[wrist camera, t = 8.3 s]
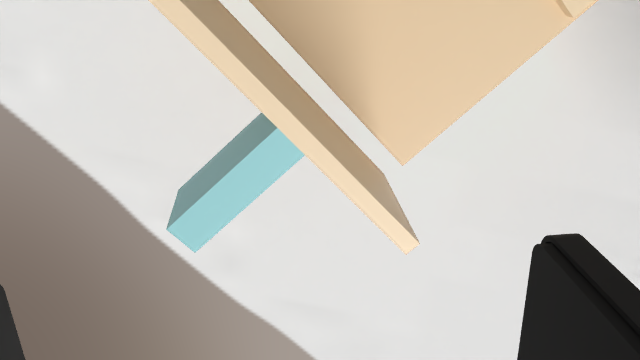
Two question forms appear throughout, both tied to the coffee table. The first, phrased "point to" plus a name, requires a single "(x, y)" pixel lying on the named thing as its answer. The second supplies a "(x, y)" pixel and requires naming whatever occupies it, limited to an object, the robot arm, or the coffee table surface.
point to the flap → (268, 137)
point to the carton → (416, 55)
